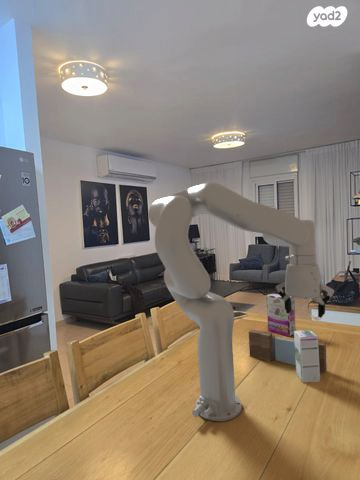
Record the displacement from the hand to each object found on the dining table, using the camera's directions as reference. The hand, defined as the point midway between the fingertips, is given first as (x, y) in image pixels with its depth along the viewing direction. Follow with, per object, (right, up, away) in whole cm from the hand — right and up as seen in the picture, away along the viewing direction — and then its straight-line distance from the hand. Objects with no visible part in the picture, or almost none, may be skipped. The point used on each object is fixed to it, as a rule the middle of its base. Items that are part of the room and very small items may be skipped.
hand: (304, 314), depth 98 cm
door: (-1, -19, +9) cm, 21 cm away
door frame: (-2, -20, +11) cm, 23 cm away
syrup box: (+1, -21, +1) cm, 21 cm away
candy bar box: (+6, -17, +39) cm, 43 cm away
